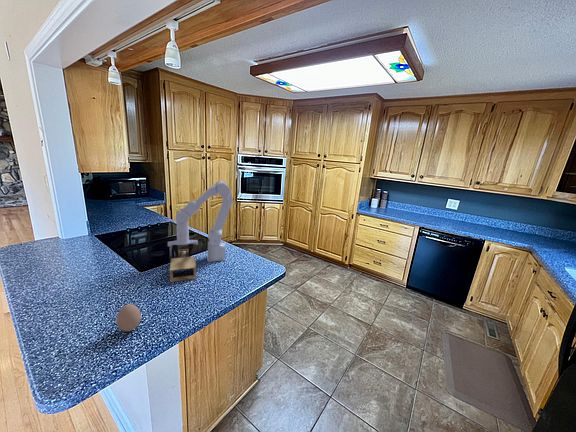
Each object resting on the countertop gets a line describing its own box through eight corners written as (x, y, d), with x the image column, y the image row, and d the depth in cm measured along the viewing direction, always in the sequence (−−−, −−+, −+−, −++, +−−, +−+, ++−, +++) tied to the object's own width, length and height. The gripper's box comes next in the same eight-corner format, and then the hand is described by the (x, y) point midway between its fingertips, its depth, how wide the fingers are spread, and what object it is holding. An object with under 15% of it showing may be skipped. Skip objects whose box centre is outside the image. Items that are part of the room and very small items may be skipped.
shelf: (195, 267, 121) (194, 256, 120) (196, 278, 111) (195, 267, 109) (171, 269, 117) (171, 258, 115) (170, 281, 106) (169, 269, 105)
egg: (116, 328, 77) (113, 304, 75) (138, 319, 82) (136, 296, 80) (120, 340, 73) (117, 315, 71) (144, 330, 77) (142, 306, 75)
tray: (188, 256, 133) (188, 248, 132) (188, 266, 121) (188, 258, 120) (178, 257, 131) (178, 249, 130) (178, 267, 119) (177, 259, 118)
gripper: (197, 230, 128) (197, 253, 132) (167, 231, 123) (169, 255, 126) (197, 234, 122) (198, 258, 126) (166, 236, 116) (168, 261, 120)
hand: (183, 257), depth 125 cm, fingers closed on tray, 5 cm apart
